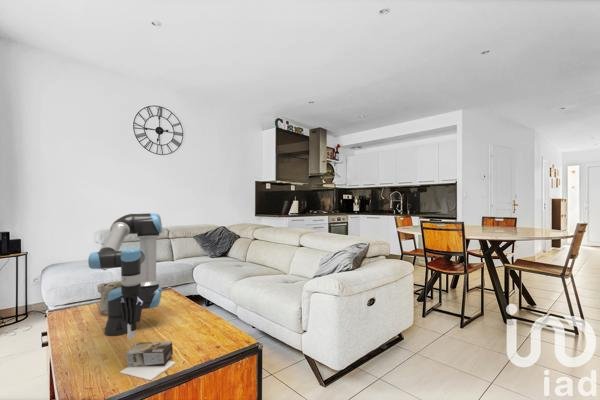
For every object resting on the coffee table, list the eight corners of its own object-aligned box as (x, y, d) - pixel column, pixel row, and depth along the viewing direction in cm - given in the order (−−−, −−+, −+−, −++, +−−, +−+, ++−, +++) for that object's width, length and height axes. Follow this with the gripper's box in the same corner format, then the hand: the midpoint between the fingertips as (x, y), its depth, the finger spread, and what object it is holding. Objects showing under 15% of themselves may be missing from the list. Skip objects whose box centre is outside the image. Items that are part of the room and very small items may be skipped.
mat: (119, 372, 125) (119, 372, 125) (146, 356, 138) (146, 355, 138) (150, 381, 120) (150, 380, 120) (176, 363, 133) (176, 362, 133)
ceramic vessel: (124, 289, 217) (135, 264, 208) (137, 316, 206) (149, 291, 197) (88, 297, 198) (98, 270, 190) (100, 327, 187) (112, 300, 179)
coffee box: (126, 367, 129) (164, 367, 129) (125, 353, 128) (163, 352, 129) (138, 354, 138) (173, 354, 138) (137, 341, 138) (172, 341, 138)
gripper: (112, 285, 131) (112, 339, 131) (134, 287, 126) (135, 343, 126) (127, 280, 138) (128, 332, 138) (149, 283, 134) (149, 336, 133)
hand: (131, 337), depth 132 cm, fingers closed
